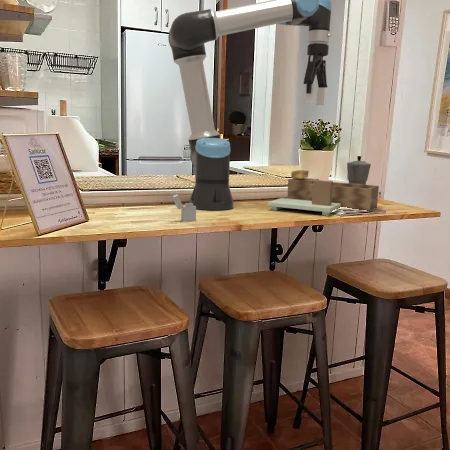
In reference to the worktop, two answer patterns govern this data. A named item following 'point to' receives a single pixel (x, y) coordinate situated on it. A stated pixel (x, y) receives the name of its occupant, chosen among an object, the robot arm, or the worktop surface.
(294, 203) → the lid
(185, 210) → the lighter
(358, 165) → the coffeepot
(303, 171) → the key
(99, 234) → the worktop surface
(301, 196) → the brown wooden box
